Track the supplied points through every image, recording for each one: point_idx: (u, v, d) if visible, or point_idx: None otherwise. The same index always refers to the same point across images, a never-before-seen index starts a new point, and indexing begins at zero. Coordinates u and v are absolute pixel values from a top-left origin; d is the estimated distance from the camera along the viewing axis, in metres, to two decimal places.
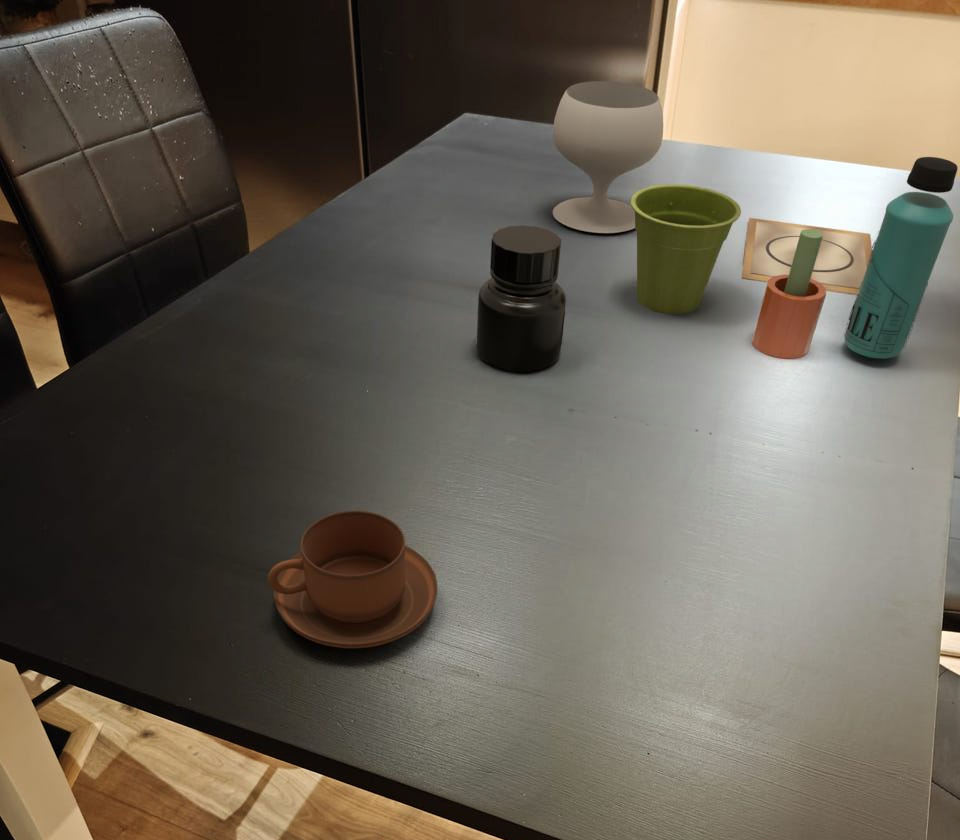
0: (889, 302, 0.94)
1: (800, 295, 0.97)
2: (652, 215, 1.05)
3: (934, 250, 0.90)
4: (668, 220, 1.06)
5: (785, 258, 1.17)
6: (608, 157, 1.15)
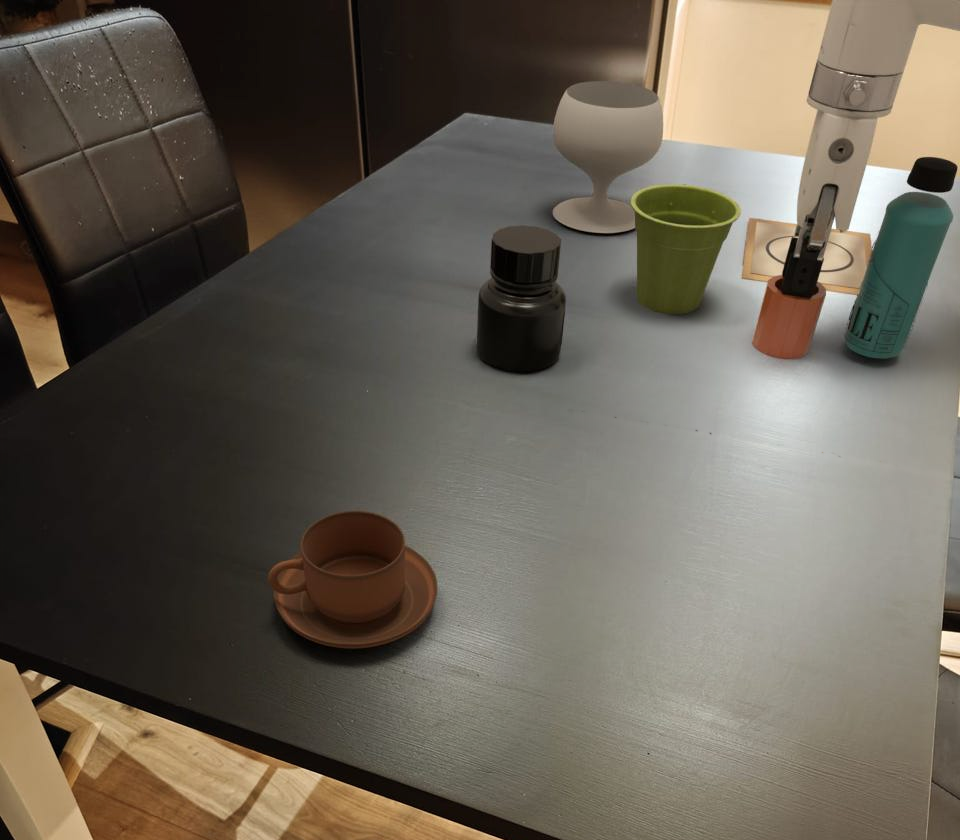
0: (889, 302, 0.94)
1: None
2: (652, 215, 1.05)
3: (934, 250, 0.90)
4: (668, 220, 1.06)
5: (785, 258, 1.17)
6: (608, 157, 1.15)
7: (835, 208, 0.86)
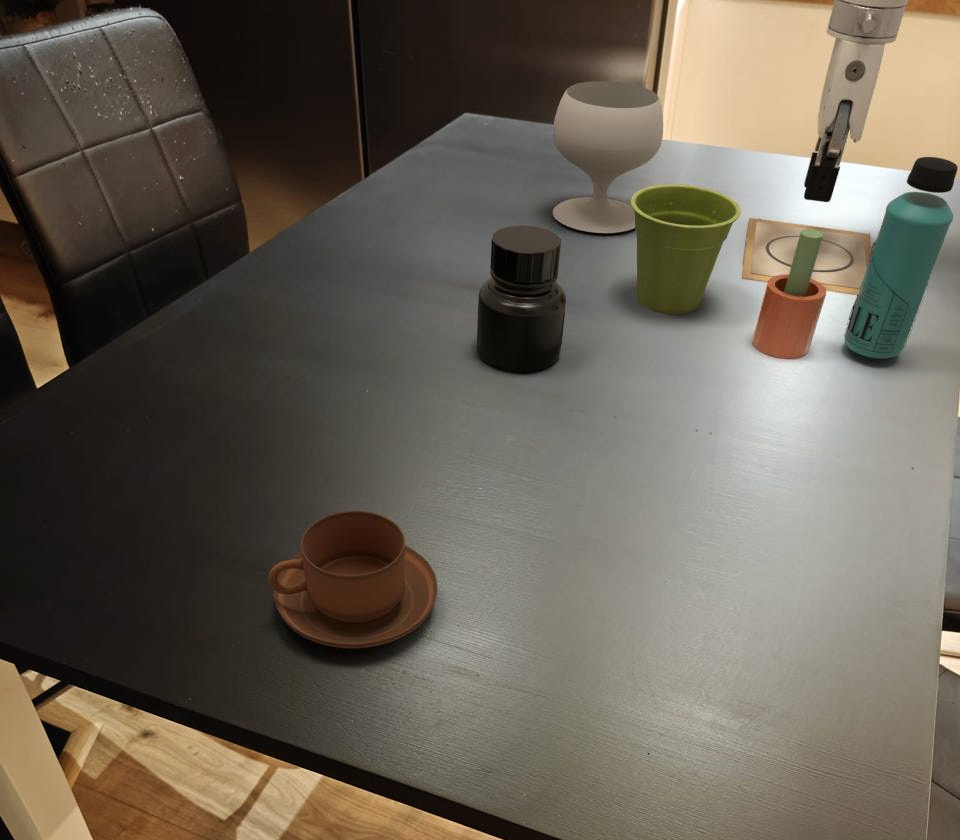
0: (889, 302, 0.94)
1: (800, 295, 0.97)
2: (652, 215, 1.05)
3: (934, 250, 0.90)
4: (668, 220, 1.06)
5: (785, 258, 1.17)
6: (608, 157, 1.15)
7: (850, 120, 1.05)
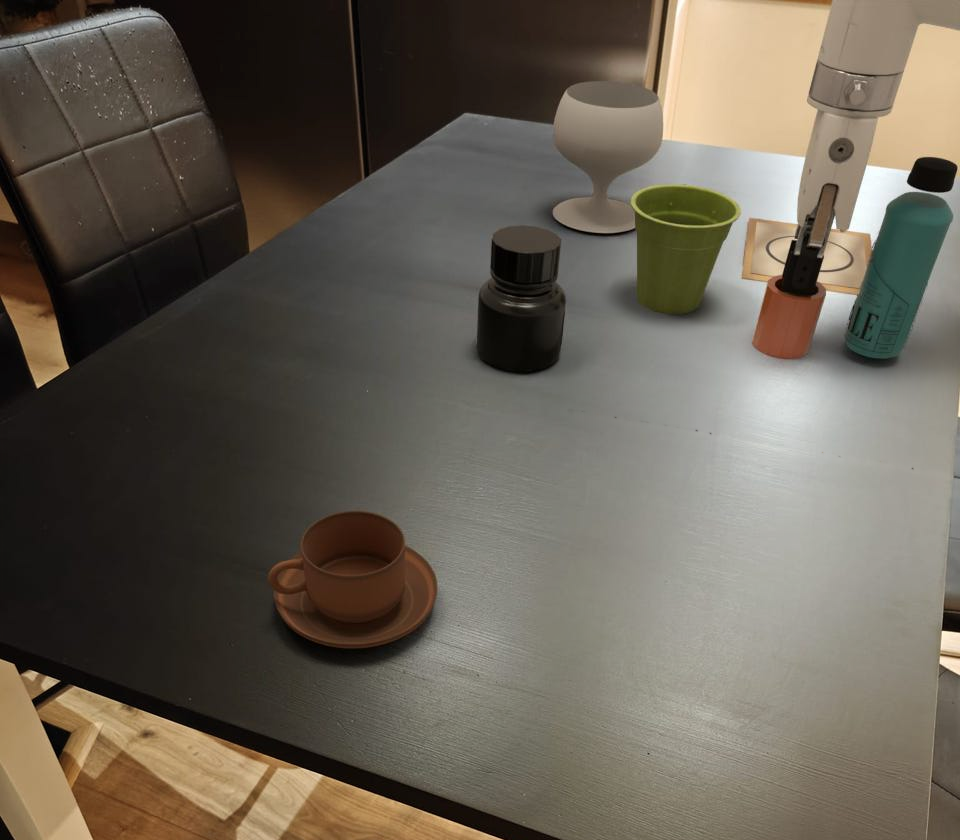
0: (889, 302, 0.94)
1: None
2: (652, 215, 1.05)
3: (934, 250, 0.90)
4: (668, 220, 1.06)
5: (785, 258, 1.17)
6: (608, 157, 1.15)
7: (835, 208, 0.86)
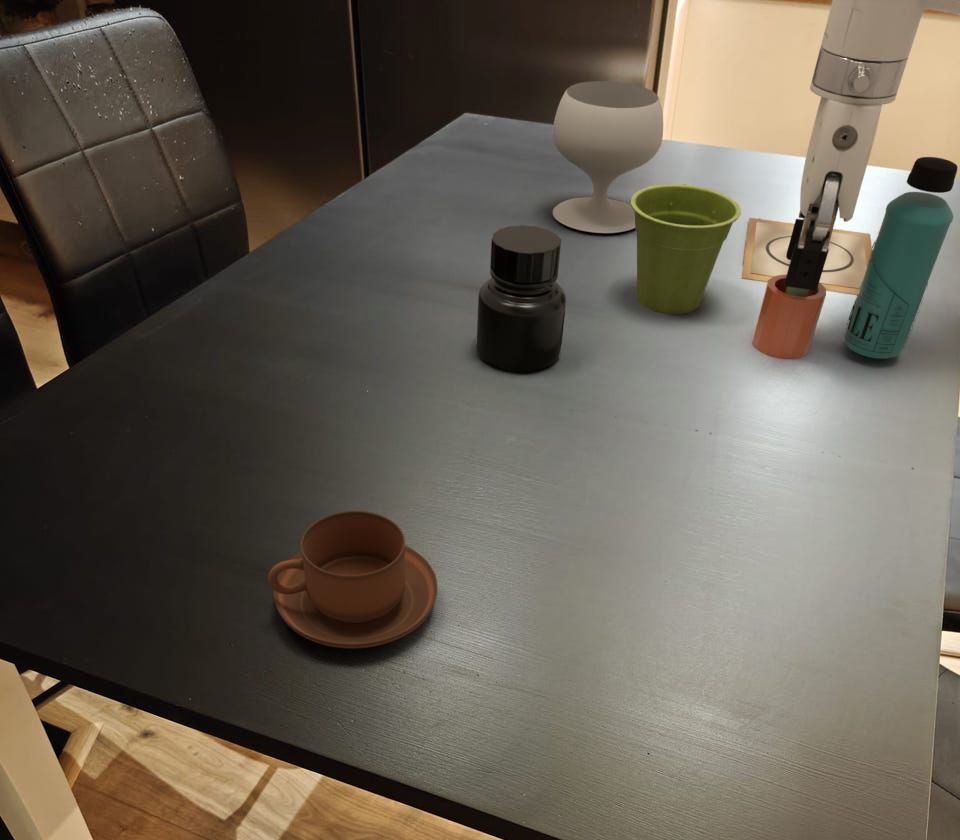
0: (889, 302, 0.94)
1: (802, 295, 0.97)
2: (652, 215, 1.05)
3: (934, 250, 0.90)
4: (668, 220, 1.06)
5: (785, 258, 1.17)
6: (608, 157, 1.15)
7: (839, 196, 0.86)
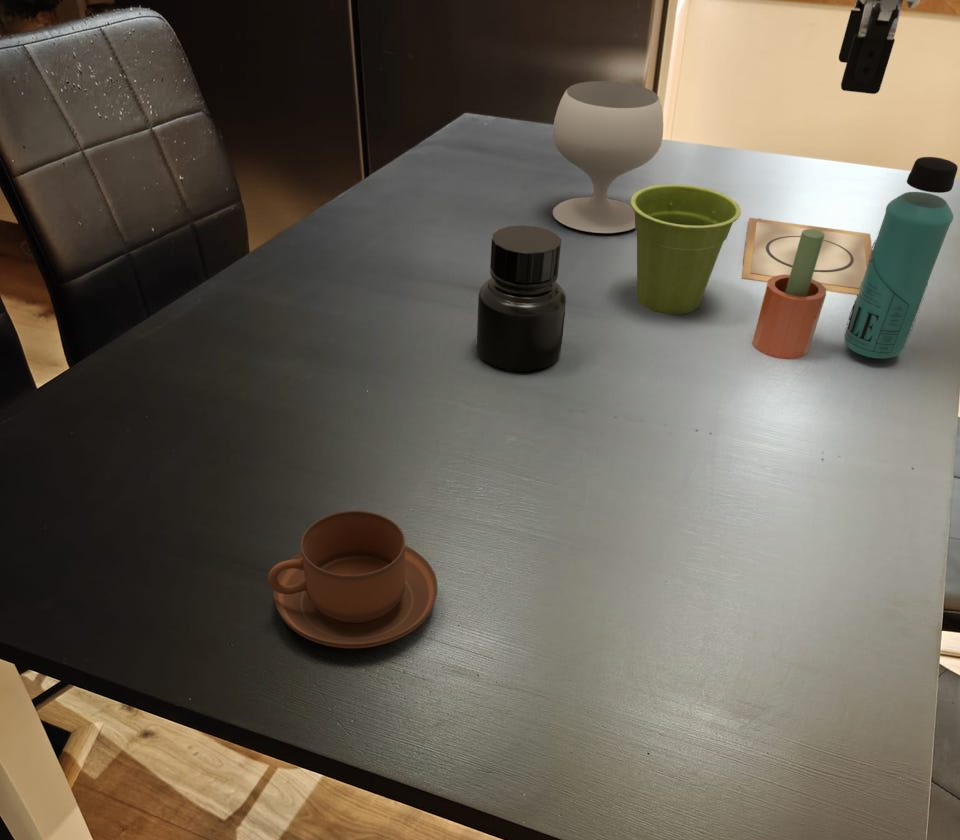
0: (889, 302, 0.94)
1: (801, 295, 0.97)
2: (652, 215, 1.05)
3: (934, 250, 0.90)
4: (668, 220, 1.06)
5: (785, 258, 1.17)
6: (608, 157, 1.15)
7: None
